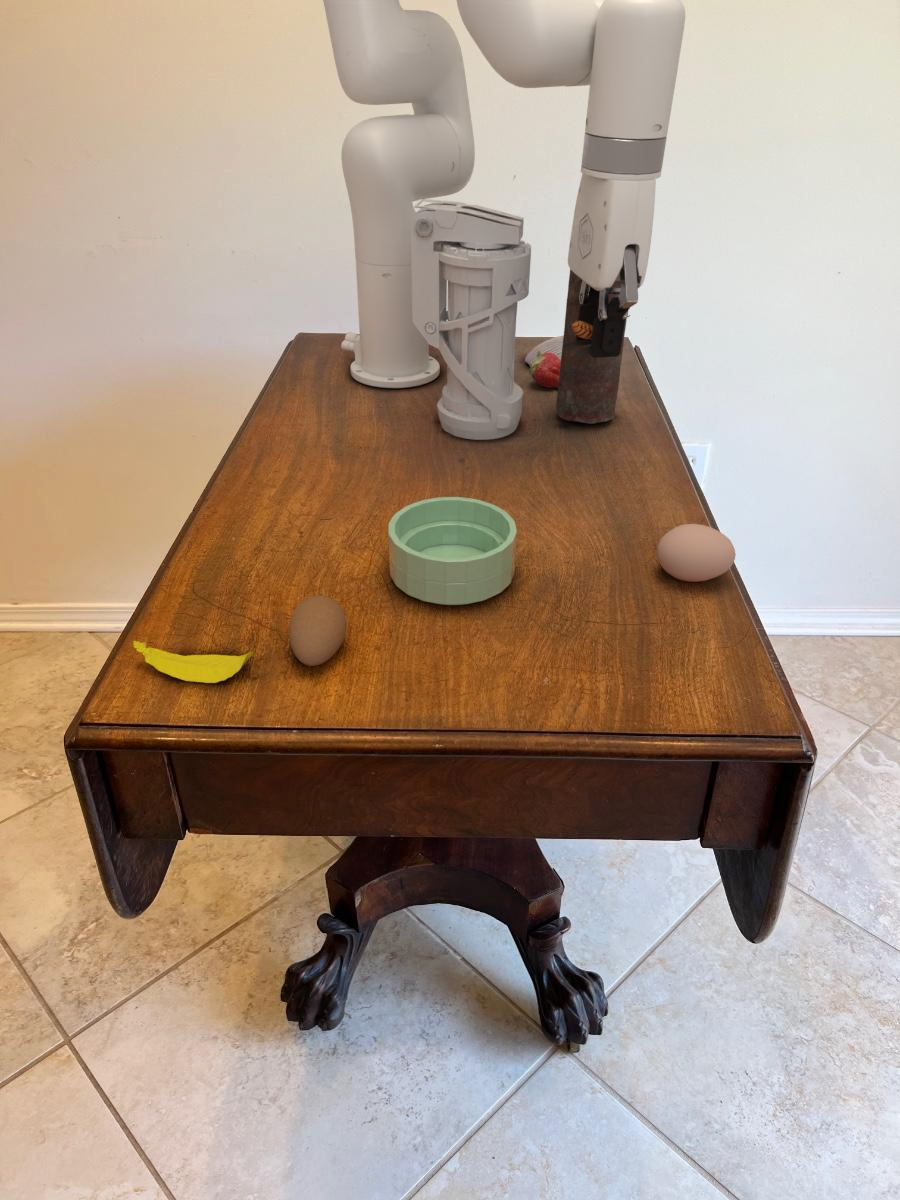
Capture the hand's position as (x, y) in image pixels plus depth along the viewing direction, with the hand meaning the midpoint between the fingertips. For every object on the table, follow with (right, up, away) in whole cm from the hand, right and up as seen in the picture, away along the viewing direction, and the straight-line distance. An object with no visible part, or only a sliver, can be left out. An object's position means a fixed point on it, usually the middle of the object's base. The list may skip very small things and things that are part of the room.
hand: (597, 347), depth 89 cm
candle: (+1, -4, +16) cm, 17 cm away
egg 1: (-26, -27, -22) cm, 43 cm away
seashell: (0, +7, +33) cm, 34 cm away
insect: (0, +4, -3) cm, 5 cm away
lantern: (-13, -5, +15) cm, 21 cm away
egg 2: (+3, -22, -14) cm, 27 cm away
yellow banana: (-36, -29, -23) cm, 52 cm away
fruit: (-2, +2, +26) cm, 26 cm away
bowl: (-16, -25, -13) cm, 32 cm away
